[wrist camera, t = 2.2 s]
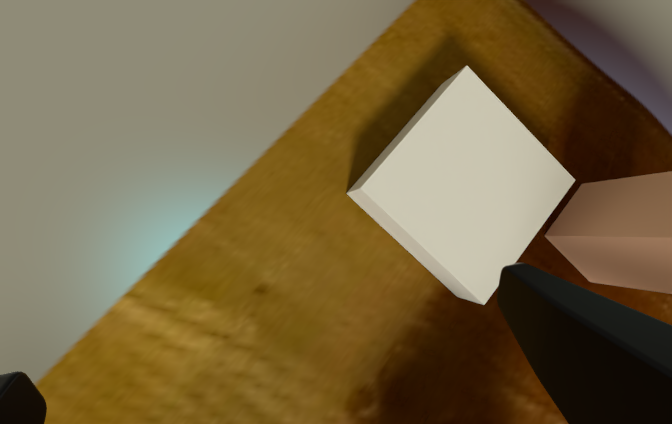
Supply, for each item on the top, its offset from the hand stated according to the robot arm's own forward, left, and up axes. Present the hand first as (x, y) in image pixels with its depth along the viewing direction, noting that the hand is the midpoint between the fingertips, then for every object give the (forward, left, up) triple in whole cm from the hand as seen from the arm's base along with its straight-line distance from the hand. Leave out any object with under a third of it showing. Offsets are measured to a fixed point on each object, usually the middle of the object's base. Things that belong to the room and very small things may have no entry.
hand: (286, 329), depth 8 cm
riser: (-6, -12, -16) cm, 21 cm away
